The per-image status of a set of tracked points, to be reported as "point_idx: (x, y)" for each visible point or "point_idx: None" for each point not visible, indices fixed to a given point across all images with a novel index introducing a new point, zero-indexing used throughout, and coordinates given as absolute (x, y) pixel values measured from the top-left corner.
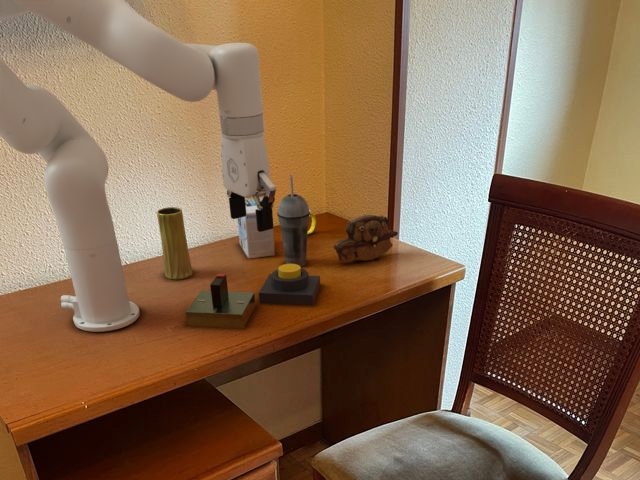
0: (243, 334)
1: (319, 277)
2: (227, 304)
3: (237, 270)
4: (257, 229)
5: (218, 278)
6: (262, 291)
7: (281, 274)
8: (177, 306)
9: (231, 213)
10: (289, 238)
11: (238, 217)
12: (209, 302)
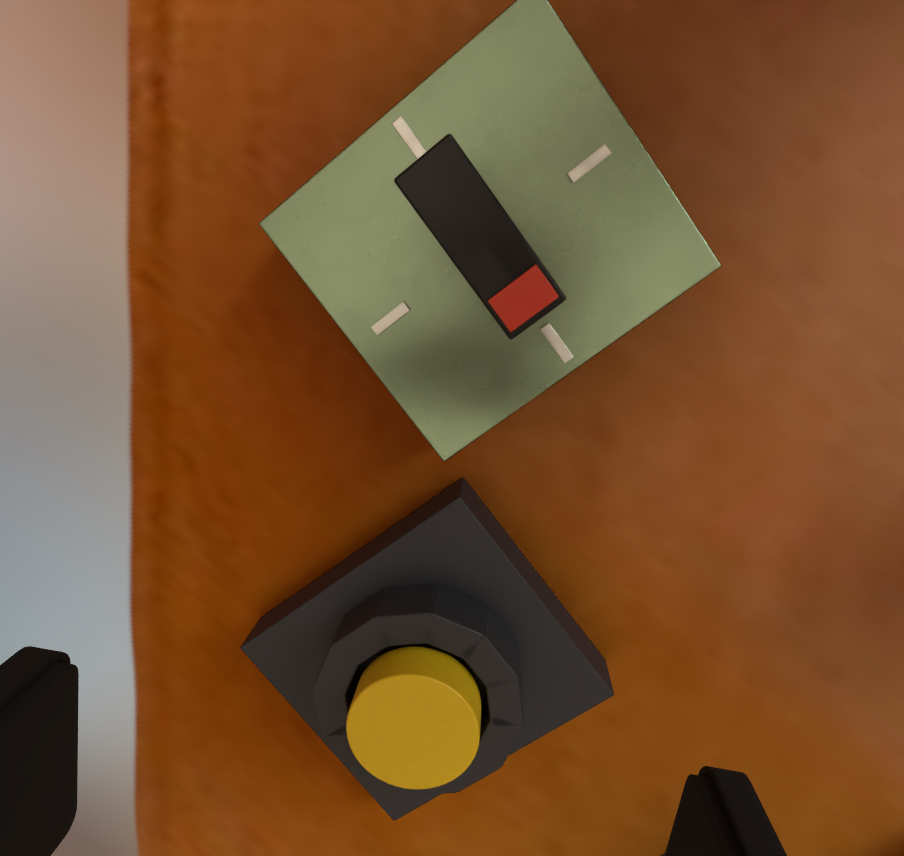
0: (237, 187)
1: (381, 806)
2: (425, 248)
3: (888, 672)
4: (45, 658)
5: (497, 255)
6: (458, 520)
7: (410, 662)
8: (796, 136)
9: (739, 820)
10: None
11: (671, 832)
12: (530, 186)
